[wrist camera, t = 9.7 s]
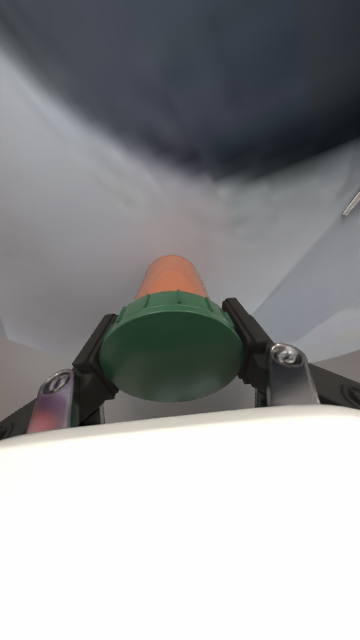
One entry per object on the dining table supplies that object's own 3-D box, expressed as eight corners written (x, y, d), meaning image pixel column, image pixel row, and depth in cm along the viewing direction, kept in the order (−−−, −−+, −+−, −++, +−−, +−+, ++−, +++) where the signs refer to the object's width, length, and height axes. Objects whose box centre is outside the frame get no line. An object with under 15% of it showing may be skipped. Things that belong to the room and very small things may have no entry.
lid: (87, 299, 6) (64, 321, 5) (240, 280, 6) (260, 298, 5) (133, 382, 10) (127, 407, 9) (226, 372, 10) (235, 396, 9)
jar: (198, 251, 14) (238, 302, 6) (200, 303, 18) (226, 383, 9) (138, 259, 14) (90, 320, 6) (152, 309, 18) (134, 393, 9)
